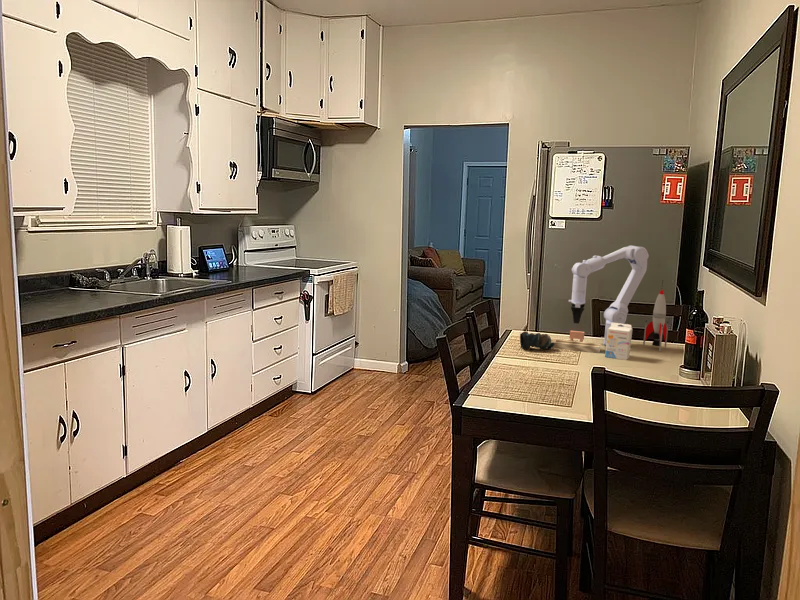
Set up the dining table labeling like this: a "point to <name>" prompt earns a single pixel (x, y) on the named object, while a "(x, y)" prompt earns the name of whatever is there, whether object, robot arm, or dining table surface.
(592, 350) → the rail
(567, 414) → the dining table surface
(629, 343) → the ink box
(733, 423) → the dining table surface
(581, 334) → the tall salmon pink block
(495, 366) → the dining table surface
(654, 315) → the toy
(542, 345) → the figurine
